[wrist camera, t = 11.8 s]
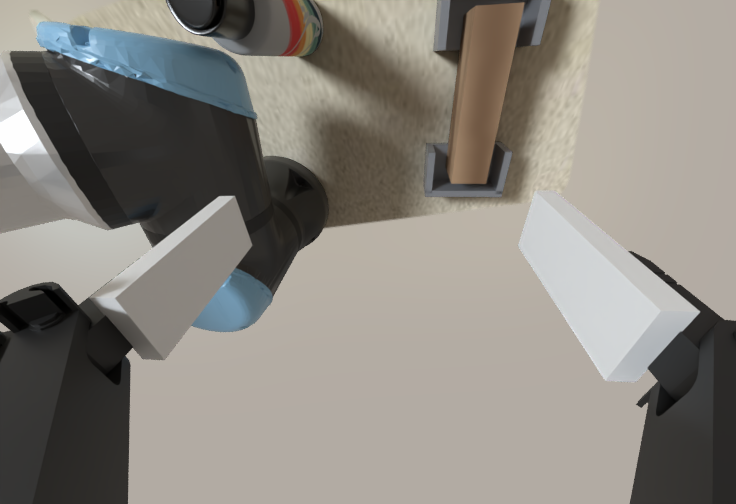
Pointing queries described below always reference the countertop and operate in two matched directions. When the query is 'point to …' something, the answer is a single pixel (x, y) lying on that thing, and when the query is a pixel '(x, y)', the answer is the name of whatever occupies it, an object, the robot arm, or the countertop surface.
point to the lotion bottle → (254, 24)
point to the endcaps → (448, 37)
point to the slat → (480, 89)
